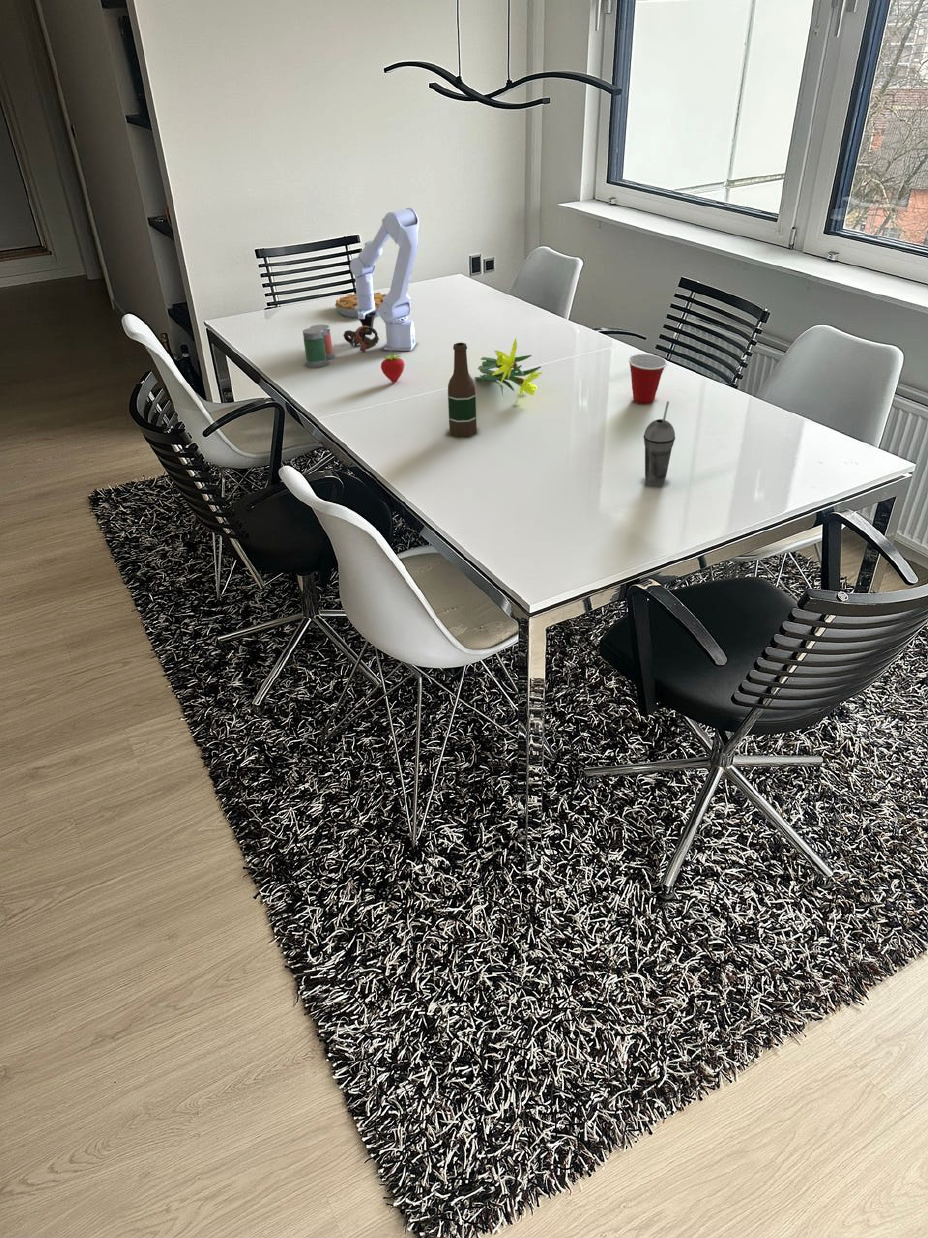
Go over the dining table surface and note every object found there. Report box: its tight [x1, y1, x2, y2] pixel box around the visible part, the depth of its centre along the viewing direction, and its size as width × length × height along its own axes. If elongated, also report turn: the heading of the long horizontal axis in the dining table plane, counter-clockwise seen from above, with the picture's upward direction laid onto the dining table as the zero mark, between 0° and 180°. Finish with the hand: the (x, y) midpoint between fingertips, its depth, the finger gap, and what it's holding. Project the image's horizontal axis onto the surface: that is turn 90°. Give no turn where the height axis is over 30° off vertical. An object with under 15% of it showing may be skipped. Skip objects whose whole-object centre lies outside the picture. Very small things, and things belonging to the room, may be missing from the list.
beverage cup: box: [642, 400, 676, 487], centre depth 207 cm, size 7×7×20 cm
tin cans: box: [302, 324, 334, 369], centre depth 290 cm, size 6×13×11 cm, turn 170°
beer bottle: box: [447, 342, 477, 439], centre depth 234 cm, size 8×8×24 cm
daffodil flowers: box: [474, 337, 543, 406], centre depth 259 cm, size 17×15×35 cm
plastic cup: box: [628, 353, 668, 405], centre depth 252 cm, size 11×11×12 cm
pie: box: [334, 292, 387, 319], centre depth 339 cm, size 22×22×5 cm
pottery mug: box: [342, 325, 380, 353], centre depth 301 cm, size 12×10×8 cm
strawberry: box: [380, 350, 405, 384], centre depth 271 cm, size 6×8×10 cm
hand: (368, 334), depth 309 cm, fingers closed
